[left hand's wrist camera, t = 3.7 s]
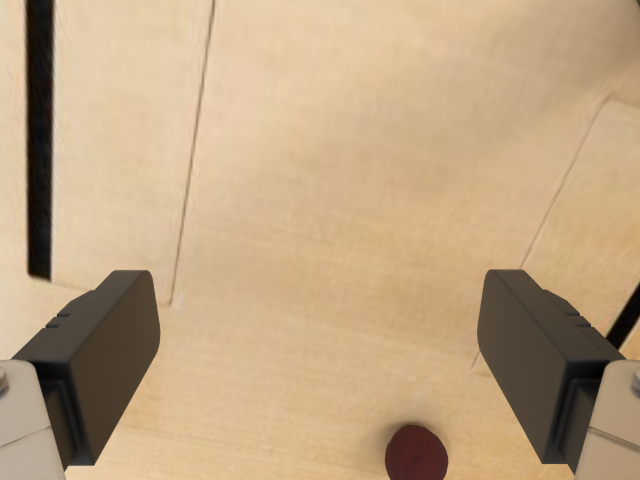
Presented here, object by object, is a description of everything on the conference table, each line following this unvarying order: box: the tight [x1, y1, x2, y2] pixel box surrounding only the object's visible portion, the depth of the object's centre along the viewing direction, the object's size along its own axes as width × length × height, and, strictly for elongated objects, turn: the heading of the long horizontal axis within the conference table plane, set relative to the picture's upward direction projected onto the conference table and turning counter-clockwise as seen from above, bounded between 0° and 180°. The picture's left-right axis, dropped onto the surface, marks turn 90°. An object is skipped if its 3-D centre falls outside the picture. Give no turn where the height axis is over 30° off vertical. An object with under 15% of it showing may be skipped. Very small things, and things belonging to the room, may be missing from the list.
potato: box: [385, 426, 448, 480], centre depth 54 cm, size 7×8×7 cm
